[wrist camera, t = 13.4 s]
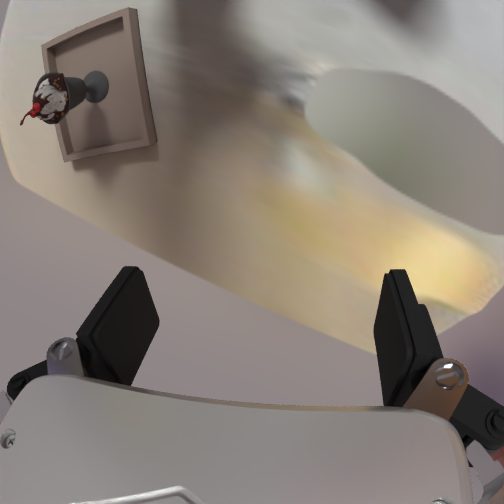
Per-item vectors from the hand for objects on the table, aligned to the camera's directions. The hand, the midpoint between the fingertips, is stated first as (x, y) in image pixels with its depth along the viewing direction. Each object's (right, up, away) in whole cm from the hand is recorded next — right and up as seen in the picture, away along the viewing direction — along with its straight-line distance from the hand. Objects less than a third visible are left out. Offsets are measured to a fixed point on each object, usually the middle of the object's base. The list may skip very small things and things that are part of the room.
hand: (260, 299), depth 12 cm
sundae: (-23, +25, +26) cm, 43 cm away
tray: (-22, +26, +26) cm, 43 cm away
